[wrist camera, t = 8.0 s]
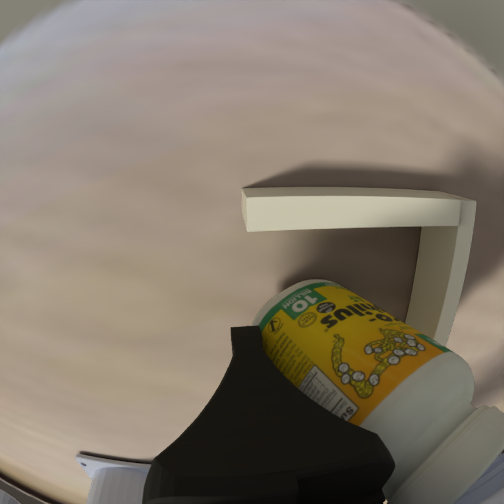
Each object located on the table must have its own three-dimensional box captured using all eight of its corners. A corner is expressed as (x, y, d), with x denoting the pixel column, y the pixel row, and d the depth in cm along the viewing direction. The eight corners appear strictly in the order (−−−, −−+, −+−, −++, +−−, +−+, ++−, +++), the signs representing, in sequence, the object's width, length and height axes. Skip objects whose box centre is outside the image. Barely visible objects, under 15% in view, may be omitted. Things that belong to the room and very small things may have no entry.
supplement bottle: (228, 383, 12) (347, 579, 3) (262, 265, 11) (502, 447, 2) (327, 379, 14) (455, 505, 5) (365, 283, 13) (546, 384, 5)
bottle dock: (397, 393, 15) (414, 420, 13) (250, 418, 15) (254, 453, 12) (440, 191, 12) (476, 201, 9) (241, 188, 11) (246, 197, 8)
